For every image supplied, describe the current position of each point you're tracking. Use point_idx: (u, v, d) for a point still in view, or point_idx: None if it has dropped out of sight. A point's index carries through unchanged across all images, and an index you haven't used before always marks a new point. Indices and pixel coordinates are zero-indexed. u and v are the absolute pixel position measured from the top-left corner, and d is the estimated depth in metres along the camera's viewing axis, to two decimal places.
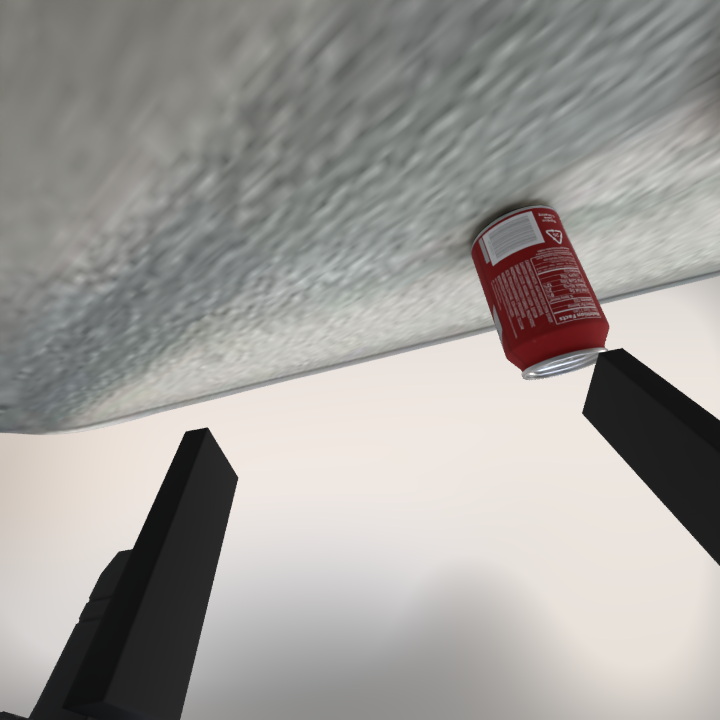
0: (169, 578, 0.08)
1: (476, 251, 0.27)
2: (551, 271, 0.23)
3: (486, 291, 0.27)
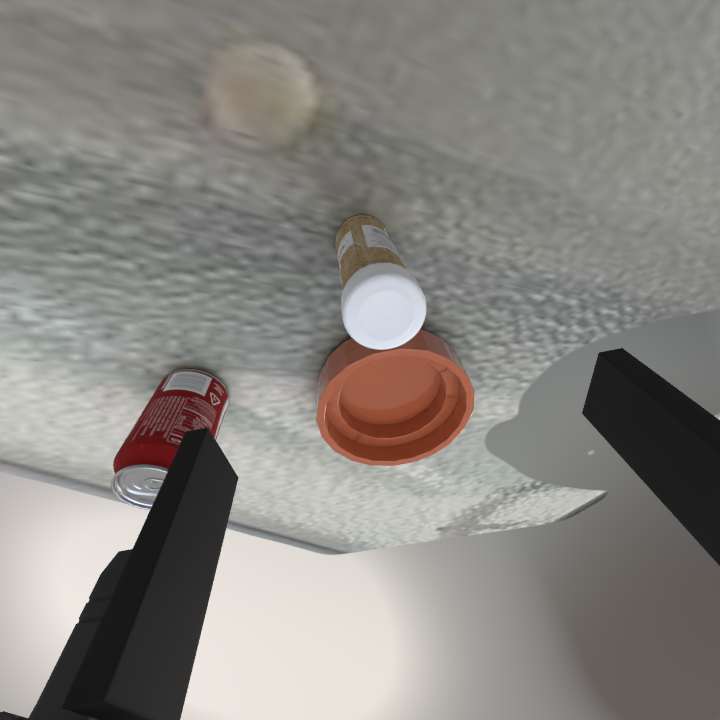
0: (169, 578, 0.08)
1: (162, 381, 0.33)
2: (192, 412, 0.30)
3: None
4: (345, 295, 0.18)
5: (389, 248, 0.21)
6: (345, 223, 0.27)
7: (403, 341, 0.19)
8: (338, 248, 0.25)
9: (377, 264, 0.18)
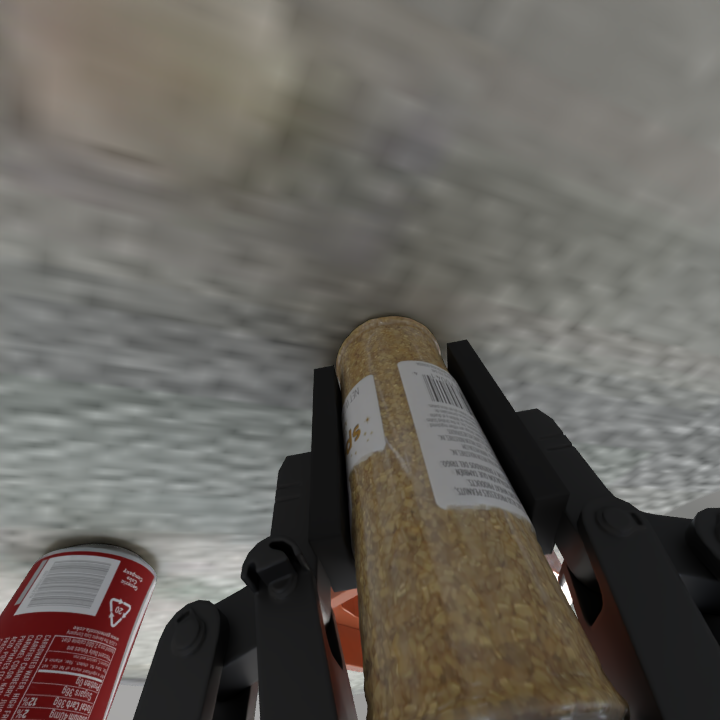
0: (342, 470, 0.10)
1: (29, 574, 0.19)
2: (58, 674, 0.16)
3: None
4: None
5: (500, 502, 0.07)
6: (357, 334, 0.13)
7: None
8: (343, 408, 0.11)
9: None
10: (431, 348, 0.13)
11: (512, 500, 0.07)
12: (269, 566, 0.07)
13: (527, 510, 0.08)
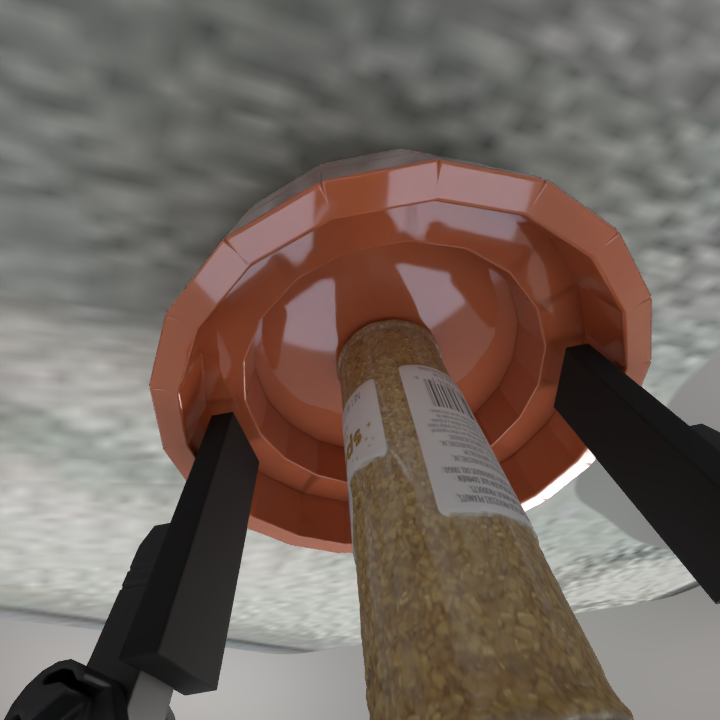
0: (205, 548, 0.09)
1: None
2: None
3: None
4: None
5: (502, 508, 0.07)
6: (358, 337, 0.13)
7: None
8: (344, 412, 0.11)
9: None
10: (432, 352, 0.12)
11: (514, 506, 0.07)
12: (42, 709, 0.06)
13: None
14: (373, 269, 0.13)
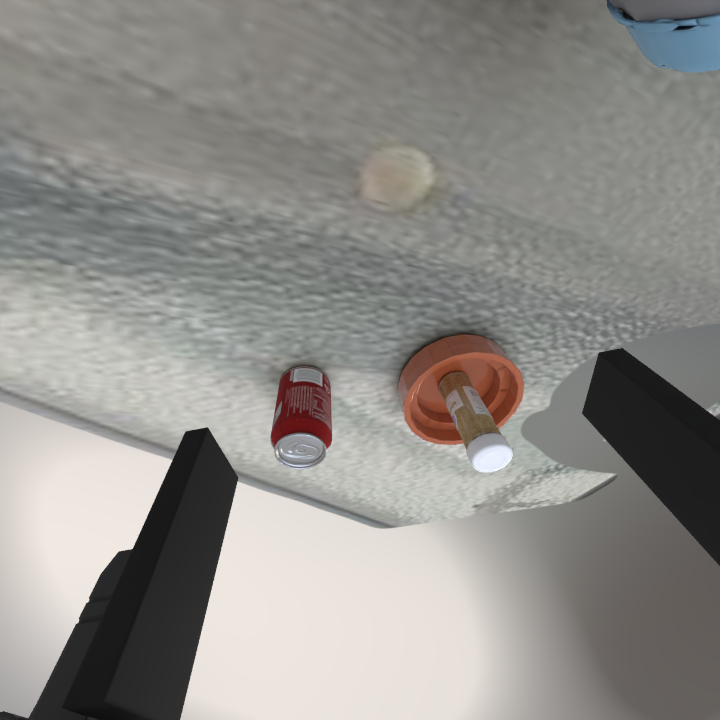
0: (169, 578, 0.08)
1: (286, 375, 0.44)
2: (319, 397, 0.40)
3: (280, 395, 0.41)
4: (474, 450, 0.37)
5: (486, 413, 0.40)
6: (447, 377, 0.46)
7: (498, 469, 0.38)
8: (447, 397, 0.44)
9: (489, 435, 0.37)
10: (469, 381, 0.45)
11: (488, 413, 0.40)
12: None
13: None
14: None
